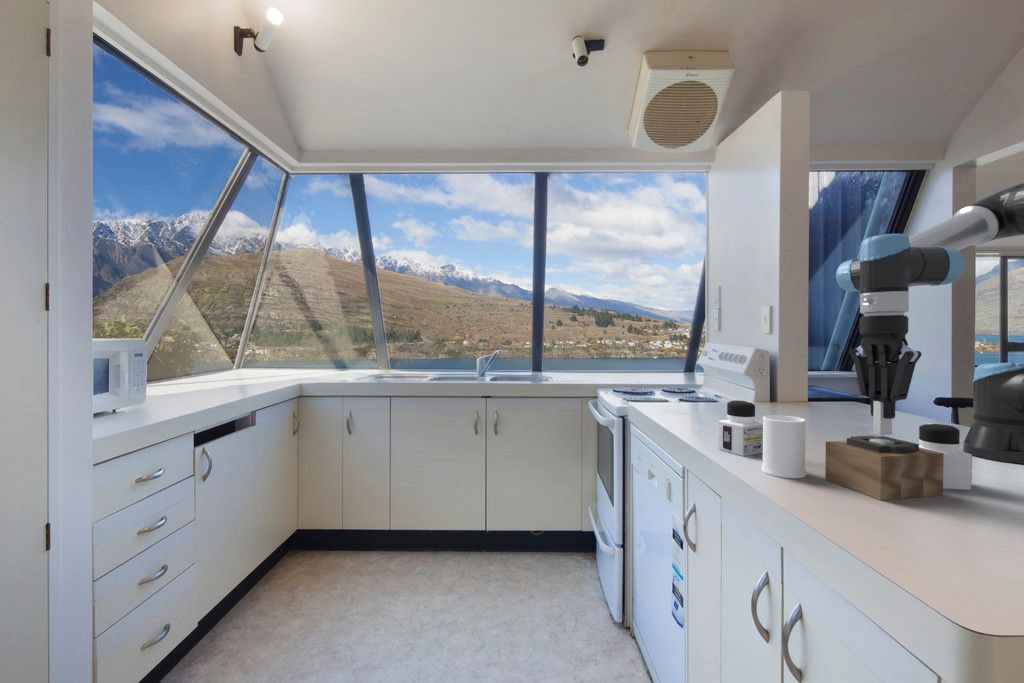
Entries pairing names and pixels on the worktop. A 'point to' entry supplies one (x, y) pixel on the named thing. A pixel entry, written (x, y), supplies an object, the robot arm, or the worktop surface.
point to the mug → (784, 446)
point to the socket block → (884, 468)
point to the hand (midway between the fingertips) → (882, 433)
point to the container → (741, 430)
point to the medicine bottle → (948, 454)
